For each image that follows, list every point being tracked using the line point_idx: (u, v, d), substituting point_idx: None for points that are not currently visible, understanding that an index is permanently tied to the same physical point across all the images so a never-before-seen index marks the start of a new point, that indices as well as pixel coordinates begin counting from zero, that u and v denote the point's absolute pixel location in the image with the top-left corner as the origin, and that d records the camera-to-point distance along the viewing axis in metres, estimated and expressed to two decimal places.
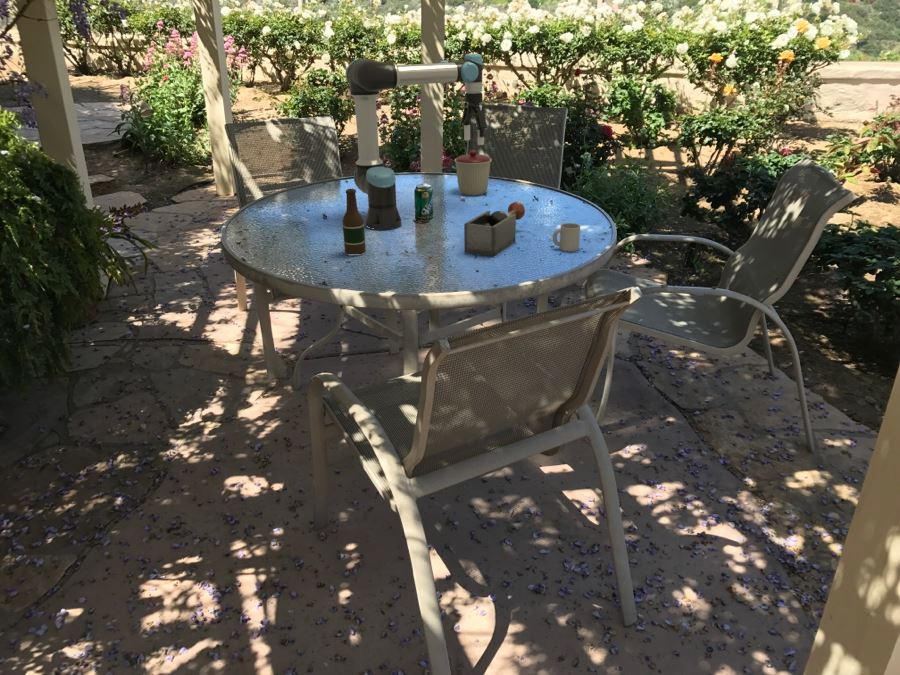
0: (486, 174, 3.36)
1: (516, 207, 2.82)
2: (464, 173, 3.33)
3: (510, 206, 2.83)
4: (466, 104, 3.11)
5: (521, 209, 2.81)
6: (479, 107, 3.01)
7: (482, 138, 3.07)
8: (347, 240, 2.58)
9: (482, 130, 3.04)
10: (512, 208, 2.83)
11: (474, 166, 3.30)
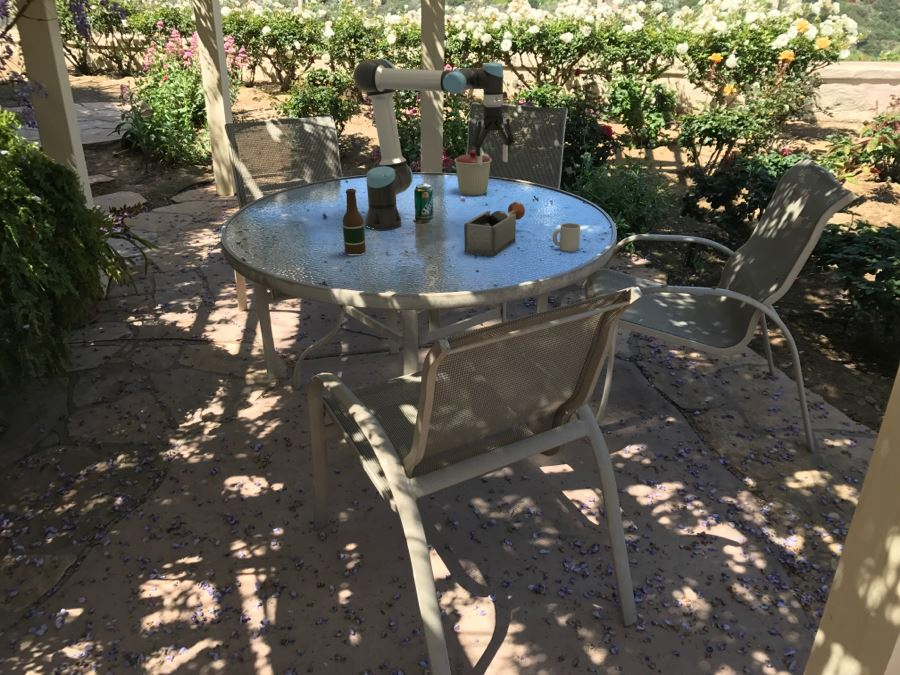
0: (486, 174, 3.36)
1: (516, 207, 2.82)
2: (464, 173, 3.33)
3: (510, 206, 2.83)
4: None
5: (521, 209, 2.81)
6: (476, 122, 2.73)
7: (479, 157, 2.78)
8: (347, 240, 2.58)
9: (476, 148, 2.77)
10: (512, 208, 2.83)
11: (474, 166, 3.30)
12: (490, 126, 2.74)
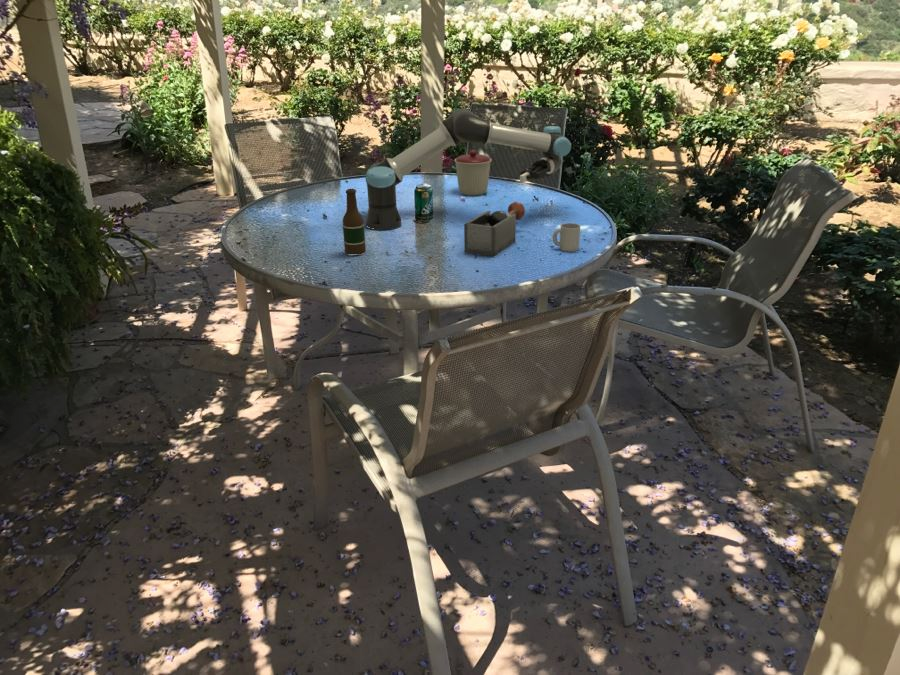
0: (486, 174, 3.36)
1: (516, 207, 2.82)
2: (464, 173, 3.33)
3: (510, 206, 2.83)
4: (525, 168, 2.97)
5: (521, 209, 2.81)
6: (549, 171, 2.91)
7: (525, 179, 2.84)
8: (347, 240, 2.58)
9: (531, 176, 2.86)
10: (512, 208, 2.83)
11: (474, 166, 3.30)
12: None
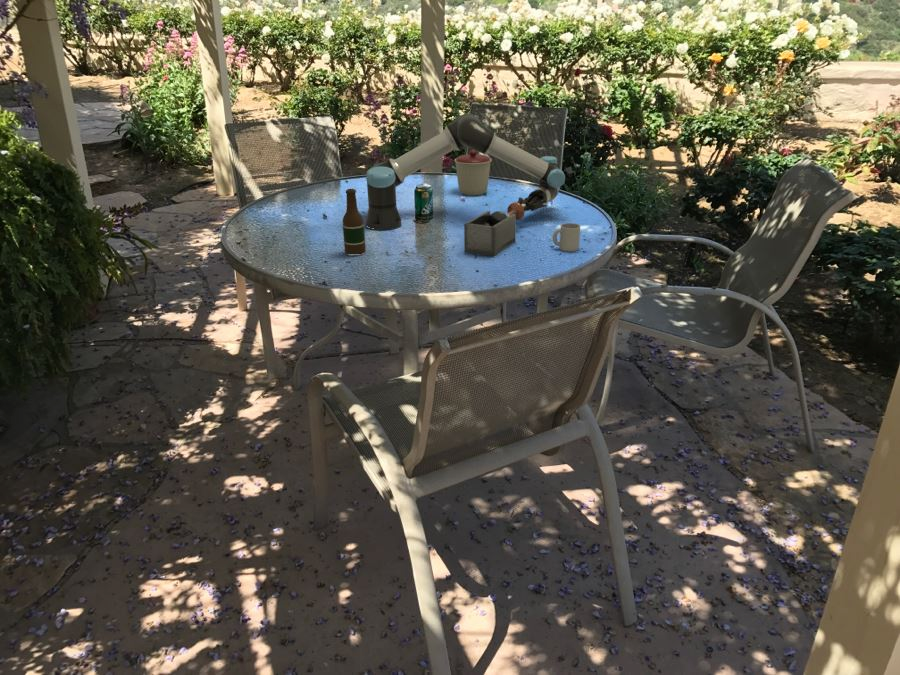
0: (486, 174, 3.36)
1: (516, 207, 2.82)
2: (464, 173, 3.33)
3: (509, 206, 2.83)
4: None
5: (521, 209, 2.81)
6: (545, 202, 2.93)
7: None
8: (347, 240, 2.58)
9: (528, 208, 2.88)
10: (511, 208, 2.83)
11: (474, 166, 3.30)
12: None
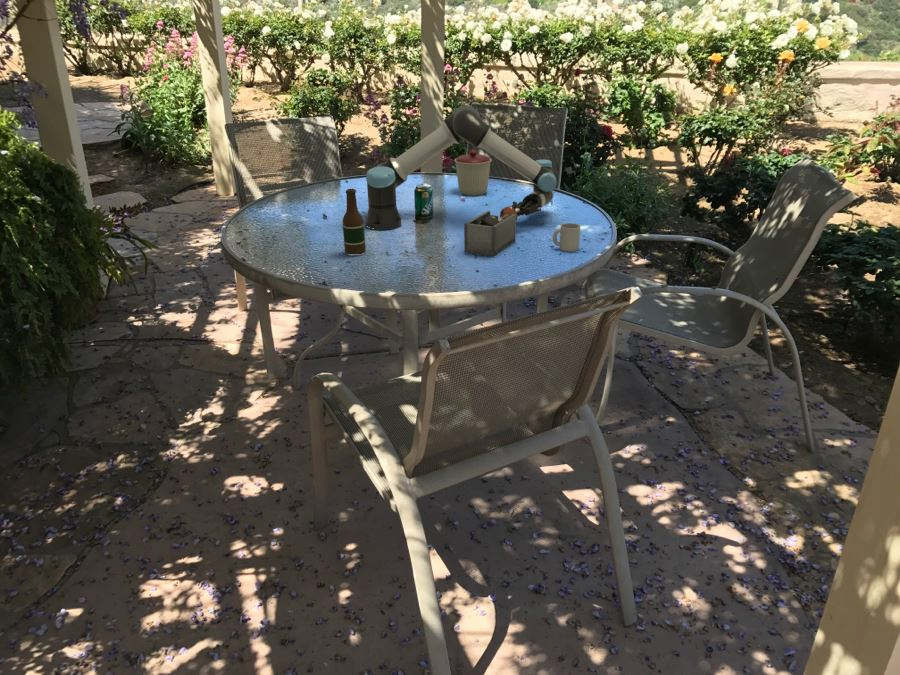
0: (486, 174, 3.36)
1: (508, 211, 2.76)
2: (464, 173, 3.33)
3: (502, 211, 2.77)
4: None
5: (513, 213, 2.75)
6: (540, 206, 2.87)
7: None
8: (347, 240, 2.58)
9: (522, 212, 2.82)
10: (504, 213, 2.77)
11: (474, 166, 3.30)
12: None
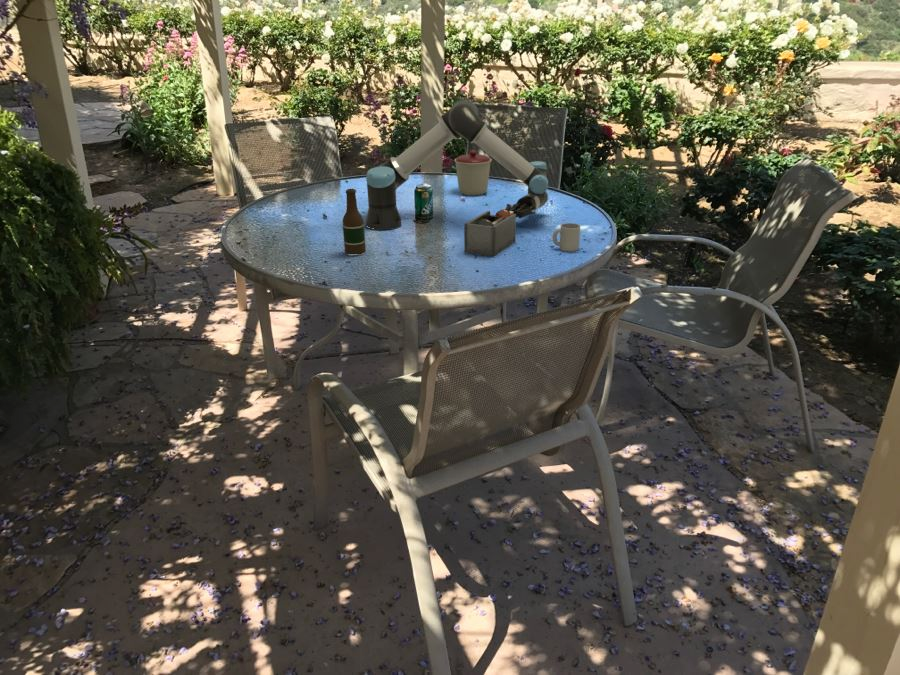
0: (486, 174, 3.36)
1: (503, 214, 2.72)
2: (464, 173, 3.33)
3: (497, 214, 2.73)
4: (509, 205, 2.89)
5: None
6: (534, 209, 2.83)
7: None
8: (347, 240, 2.58)
9: (516, 215, 2.78)
10: (499, 216, 2.73)
11: (474, 166, 3.30)
12: None
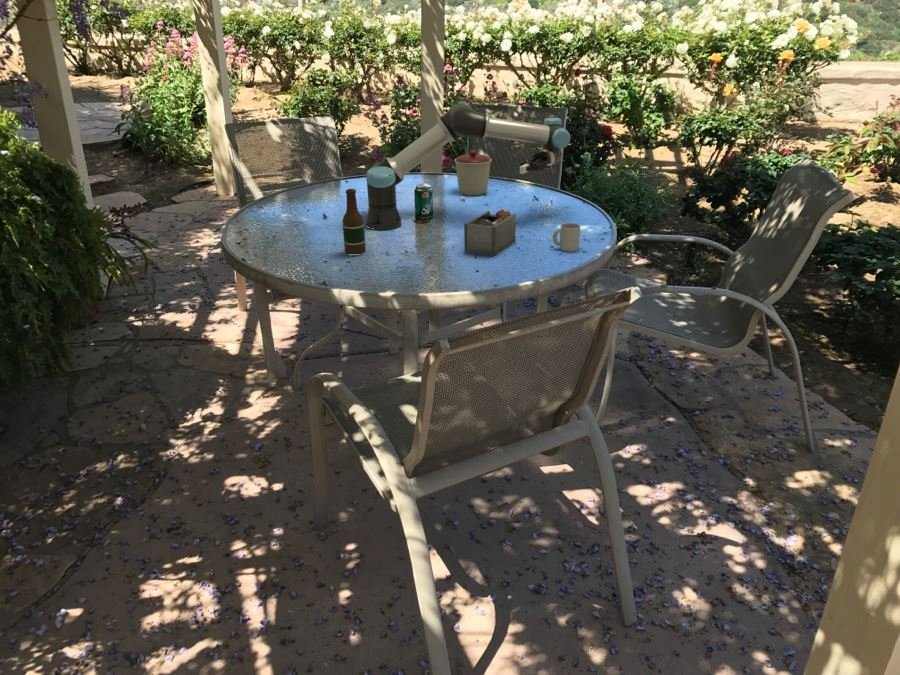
0: (486, 174, 3.36)
1: (503, 214, 2.72)
2: (464, 173, 3.33)
3: (497, 214, 2.73)
4: None
5: None
6: (549, 162, 2.87)
7: (525, 170, 2.79)
8: (347, 240, 2.58)
9: (531, 167, 2.82)
10: (499, 216, 2.73)
11: (474, 166, 3.30)
12: None
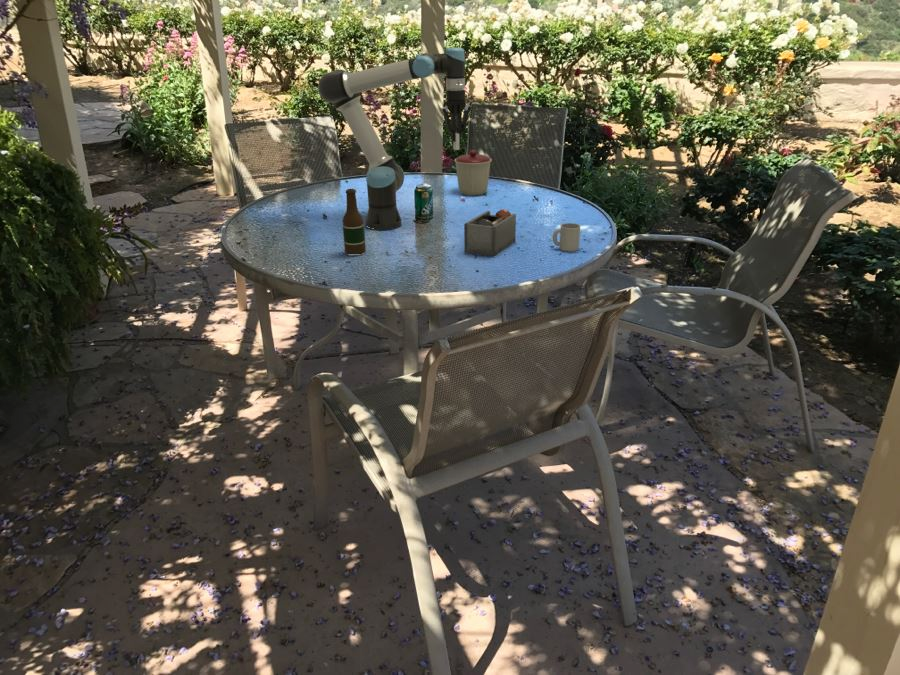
0: (486, 174, 3.36)
1: (503, 214, 2.72)
2: (464, 173, 3.33)
3: (497, 214, 2.73)
4: None
5: None
6: (441, 111, 2.83)
7: (455, 143, 2.90)
8: (347, 240, 2.58)
9: (452, 134, 2.88)
10: (499, 216, 2.73)
11: (474, 166, 3.30)
12: (454, 110, 2.83)
